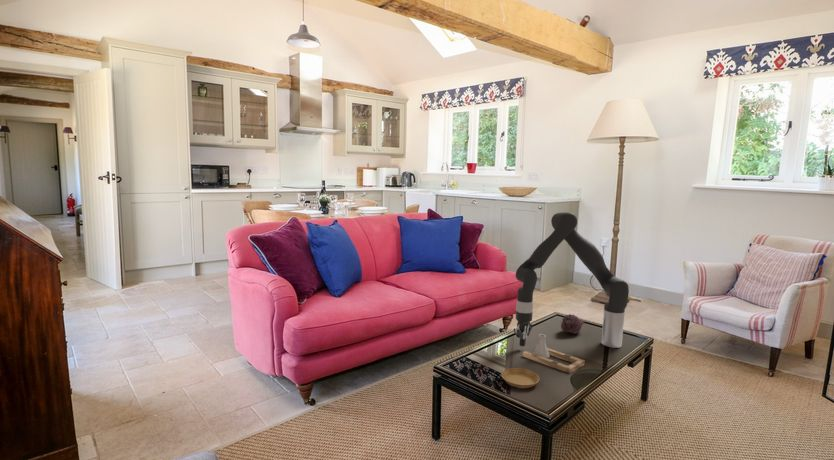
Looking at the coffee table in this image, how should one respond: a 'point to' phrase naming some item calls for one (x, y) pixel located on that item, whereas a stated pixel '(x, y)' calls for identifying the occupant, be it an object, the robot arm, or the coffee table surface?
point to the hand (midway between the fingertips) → (522, 345)
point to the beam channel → (569, 369)
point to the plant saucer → (520, 377)
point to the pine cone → (571, 324)
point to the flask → (541, 347)
